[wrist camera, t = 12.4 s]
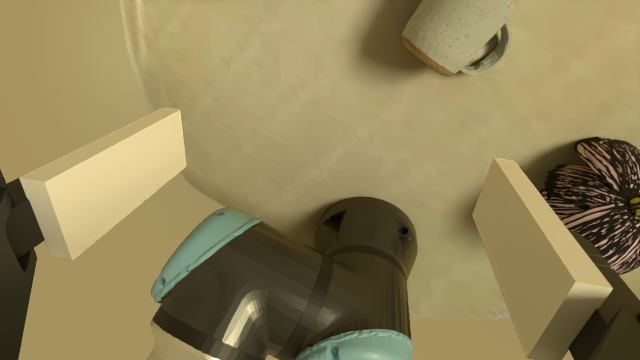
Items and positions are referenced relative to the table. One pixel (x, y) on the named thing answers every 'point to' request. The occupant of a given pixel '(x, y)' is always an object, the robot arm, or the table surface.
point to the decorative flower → (601, 199)
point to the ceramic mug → (458, 33)
